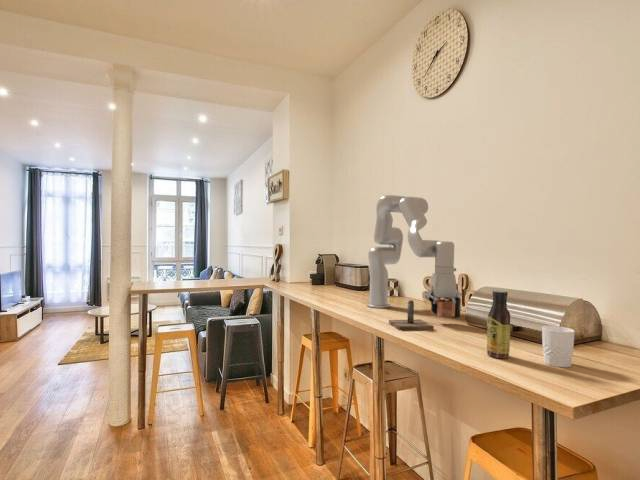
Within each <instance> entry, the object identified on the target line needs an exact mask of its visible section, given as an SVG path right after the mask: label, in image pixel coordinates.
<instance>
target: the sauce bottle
mask: <svg viewBox="0 0 640 480" xmlns="http://www.w3.org/2000/svg"><path fill="white" fill-rule="evenodd" d="M507 298H508V291H505V290H500V289H495V290H492V305H491V308H490V310H489V312H488V315H487V327H486V328H487V329H486V331H487V332H486V353H487V355H488V356H489V357H492V358H494V359H508V358H509V357H510V355H509V354H510V347H511V346H510V345H511V342H510V341H511V312H510V311H509V310H508V307H507V306H508V304H507V303H508V302H507Z"/></svg>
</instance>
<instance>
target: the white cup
mask: <svg viewBox="0 0 640 480" xmlns="http://www.w3.org/2000/svg"><path fill="white" fill-rule="evenodd" d="M575 332H576V331H575V330H574V329H572V328H569V327H564V326H557V325H542V326H541V340H542V343H541V344H542V352H543V353H542V355H543V356H542V357H543V362H544V363H545V364H547V365H549V366H553V367H558V368H571V367H572V365H573V364H572V363H573V357H574V356H573V355H574V346H575V345H574V343H575Z"/></svg>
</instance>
